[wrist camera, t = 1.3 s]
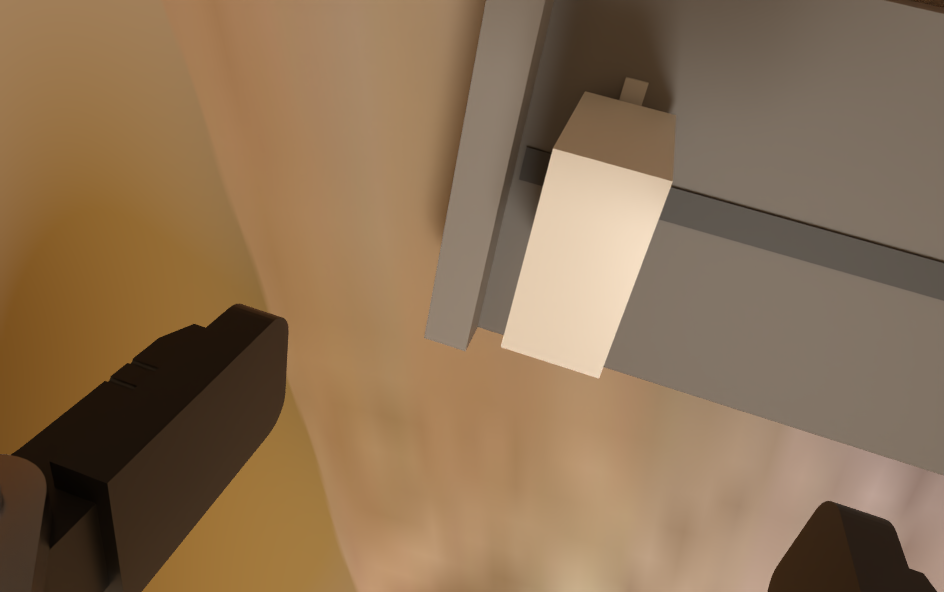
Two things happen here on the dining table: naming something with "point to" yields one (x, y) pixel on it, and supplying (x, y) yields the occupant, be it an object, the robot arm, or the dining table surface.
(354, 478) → the dining table surface
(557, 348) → the fader tab
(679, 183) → the console
